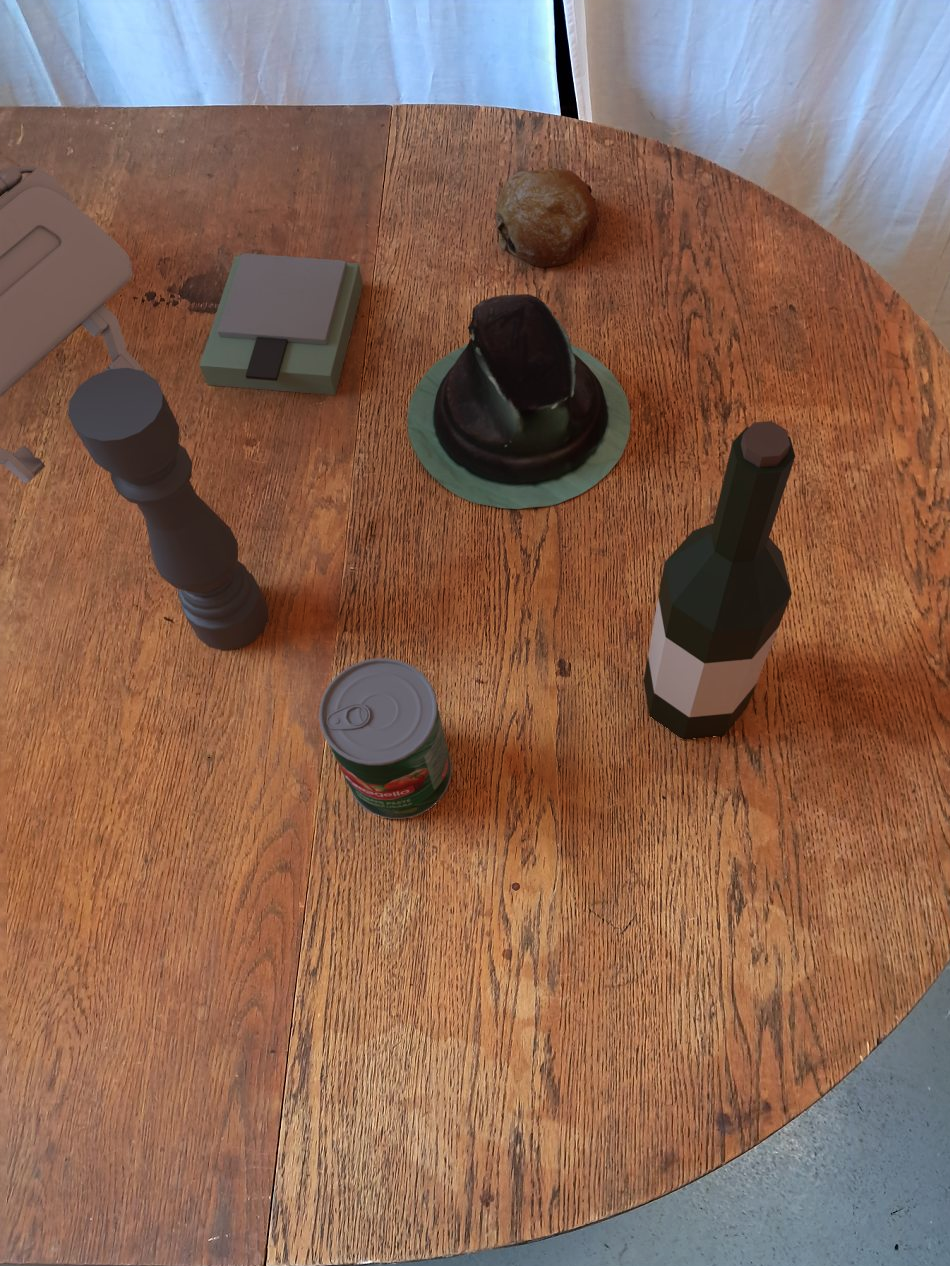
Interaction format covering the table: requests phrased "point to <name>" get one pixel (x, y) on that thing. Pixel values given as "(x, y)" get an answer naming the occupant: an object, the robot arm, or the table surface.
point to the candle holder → (169, 504)
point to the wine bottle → (722, 596)
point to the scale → (283, 324)
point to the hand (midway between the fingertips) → (87, 427)
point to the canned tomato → (387, 737)
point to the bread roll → (546, 216)
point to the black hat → (518, 411)
